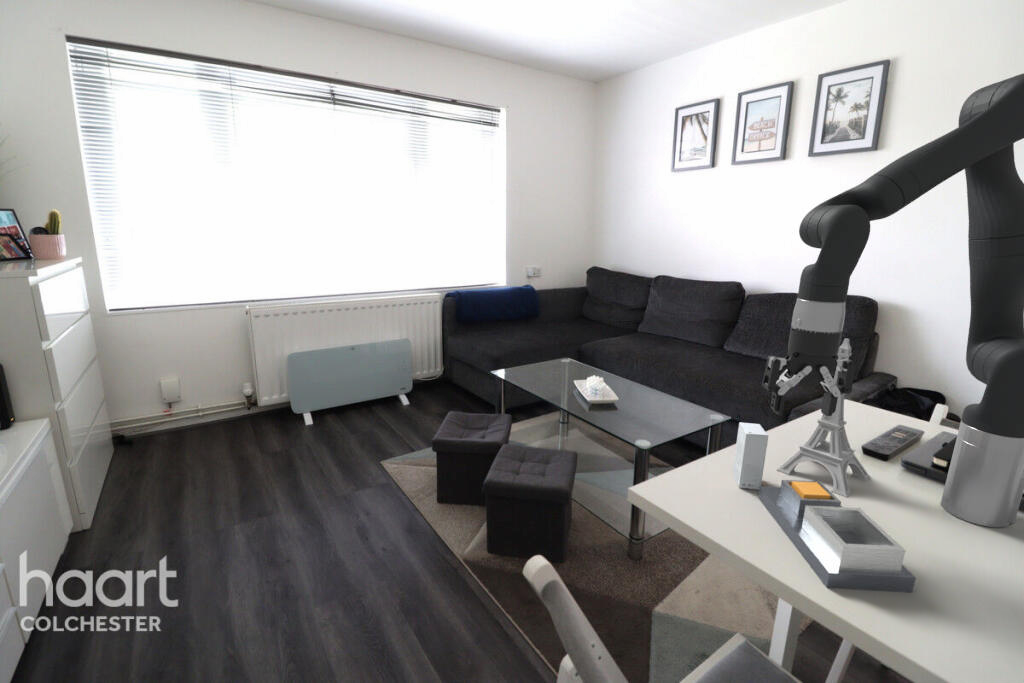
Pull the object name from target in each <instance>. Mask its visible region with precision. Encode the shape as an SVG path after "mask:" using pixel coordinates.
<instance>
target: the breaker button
mask: <svg viewBox="0 0 1024 683" xmlns="http://www.w3.org/2000/svg"><path fill="white" fill-rule="evenodd" d="M791 487H792V488H793V489H794V490H795V491H796V492H797V493H798V494H799V495H800V496H801V498H807V499H829V500H830V495H829V494H828V493H827V492H826V491H825V490H824V489H823V488H822V487H821V486H820V485H819V484H818V483H817V482H795V481H792V485H791Z"/></svg>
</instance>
